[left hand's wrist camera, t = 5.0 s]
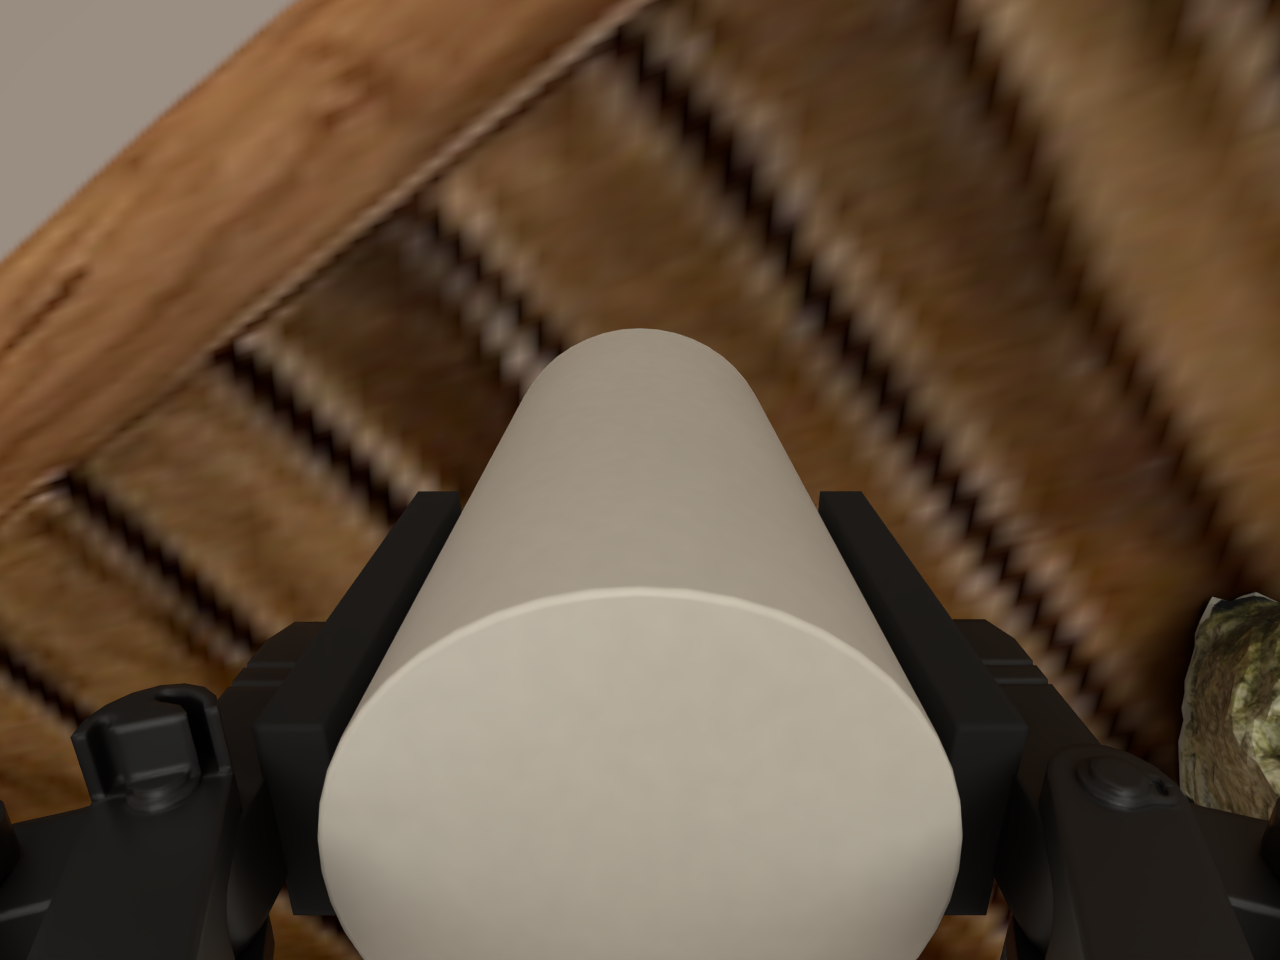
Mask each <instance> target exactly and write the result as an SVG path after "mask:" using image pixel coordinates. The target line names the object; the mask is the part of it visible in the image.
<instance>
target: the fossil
mask: <svg viewBox="0 0 1280 960" xmlns="http://www.w3.org/2000/svg"><path fill="white" fill-rule="evenodd" d="M1184 682H1185V694H1184V698H1183V703H1182V714H1183V719H1184V721H1183V725H1182V729H1181V733H1180V737H1179V741H1178V747H1179V774H1180V789H1181V791H1182V792H1183V794H1184V795H1185V797H1186V798H1187V799H1188V801H1189V802H1190V803H1193V804H1197V805H1200V806H1204V807H1209V808H1213V809H1218V810H1222V811H1227V812H1231V813H1236V814H1240V815H1245V816H1249V817H1254V818H1258V819H1263V820H1267V821H1269V819H1270V817H1271V814H1272V811H1273V809H1274V806H1275V804H1276V801H1277V799H1278V798H1279V797H1280V602H1277V601H1274V600H1272V599H1270V598H1268V597H1266V596H1263V595H1261V594H1259V593H1257V592H1255V593H1251V594H1248V595H1244V596H1241V597H1239V598H1237V599H1235V600H1233V601H1226V600H1223V599H1219V598H1215V597H1212V598H1211V600H1210V602H1209V604H1208V606H1207V608H1206V610H1205V612H1204V614H1203V616H1202V618H1201V620H1200V622H1199V625H1198V627H1197V630H1196V632H1195V647H1194V651H1193V655H1192V658H1191V662H1190V665H1189V669H1188V672H1187V675H1186V678H1185V681H1184Z"/></svg>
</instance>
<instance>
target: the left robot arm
mask: <svg viewBox="0 0 1280 960" xmlns="http://www.w3.org/2000/svg"><path fill="white" fill-rule="evenodd" d="M818 513H819V515H820V517H821V519H822V521H823V522H824V524H825V526H826V528H827V530H828V532H829V534H830V535H831V537H832V539H833V541H834V543H835V545H836V547H837V548H838V550H839V552H840V554H841V556H842V558H843V560H844V561H845V563H846V565H847V567H848V569H849V571H850V573H851V575H852V576H853V578H854V580H855V582H856V584H857V586H858V588H859V589H860V591H861V593H862V595H863V597H864V599H865V601H866V602H867V604H868V606H869V608H870V610H871V612H872V614H873V616H874V617H875V619H876V621H877V623H878V625H879V627H880V629H881V630H882V632H883V634H884V636H885V638H886V640H887V642H888V643H889V645H890V647H891V649H892V651H893V653H894V655H895V656H896V658H897V660H898V662H899V664H900V666H901V668H902V670H903V671H904V673H905V675H906V677H907V679H908V681H909V683H910V684H911V686H912V688H913V690H914V692H915V694H916V696H917V697H918V699H919V701H920V703H921V705H922V707H923V709H924V710H925V712H926V714H927V716H928V718H929V720H930V722H931V724H932V725H933V727H934V729H935V731H936V733H937V735H938V737H939V739H940V741H941V744H942V746H943V748H944V750H945V753H946V755H947V757H948V759H949V762H950V764H951V766H952V769H953V773H954V777H955V781H956V785H957V789H958V793H959V797H960V803H961V818H962V846H961V855H960V864H959V871H958V875H957V878H956V882H955V885H954V889H953V892H952V896H951V899H950V902H949V904H948V906H947V908H946V911H945V913H944V915H986V913H987V909H988V904H989V900H990V895H991V891H992V886H993V882H994V878H995V879H996V881H997V883H998V885H999V887H1000V889H1001V891H1002V893H1003V895H1004V897H1005V899H1006V901H1007V903H1008V905H1009V907H1010V909H1011V911H1012V913H1011V917H1010V921H1009V926H1008V930H1007V934H1006V938H1005V942H1004V946H1003V950H1002V955H1001V959H1000V960H1280V797H1279V798H1278V799H1277V801H1276V804H1275V806H1274V809H1273V811H1272V814H1271V817H1270V819H1269V821H1267V820H1263V819H1258V818H1254V817H1249V816H1245V815H1240V814H1236V813H1231V812H1227V811H1222V810H1218V809H1213V808H1209V807H1204V806H1200V805H1197V804H1193V803H1190V802H1189V801H1188V799H1187V798H1186V797H1185V795H1184V794H1183V792H1182V791H1181V789H1180V788H1179V786H1178V785H1177V784H1176V782H1174V781H1173V780H1172V779H1171V778H1169V777H1168V776H1167V775H1166V774H1164V773H1163V772H1162V771H1161V770H1159V769H1158V768H1157V767H1156V766H1154V765H1152V764H1150V763H1148V762H1146V761H1144V760H1142V759H1140V758H1139V757H1137V756H1135V755H1133V754H1131V753H1128V752H1125V751H1121V750H1118V749H1115V748H1112V747H1108V746H1105V745H1101V744H1100V743H1099V742H1098V740H1097V739H1096V738H1095V737H1094V735H1093V734H1092V733H1091V732H1090V731H1089V729H1088V728H1087V727H1086V726H1085V724H1084V723H1083V722H1082V721H1081V720H1080V718H1079V717H1078V716H1077V715H1076V713H1075V712H1074V711H1073V710H1072V708H1071V707H1070V706H1069V705H1068V704H1067V702H1066V701H1065V700H1064V699H1063V697H1062V696H1061V695H1060V694H1059V693H1058V691H1057V690H1056V689H1055V688H1054V686H1053V685H1052V684H1048V679H1047V678H1046V677H1045V675H1044V674H1043V673H1042V672H1041V671H1040V669H1039V668H1038V667H1037V666H1036V665H1033V661H1032V660H1031V658H1030V657H1029V656H1028V655H1027V653H1026V652H1025V651H1024V650H1023V649H1022V647H1021V646H1020V645H1019V644H1018V642H1017V641H1016V640H1015V639H1014V638H1013V637H1011V636H1010V635H1008V634H1007V633H1005V632H1003V631H1002V630H1000V629H999V628H997V627H996V626H994V625H993V624H991V623H990V622H988V621H987V620H985V619H951V617H950V616H949V614H948V613H947V612H946V610H945V609H944V607H943V606H942V605H941V603H940V602H939V600H938V599H937V597H936V596H935V595H934V593H933V592H932V590H931V589H930V588H929V586H928V585H927V583H926V582H925V581H924V579H923V578H922V576H921V575H920V574H919V572H918V571H917V569H916V568H915V567H914V565H913V564H912V562H911V561H910V560H909V558H908V557H907V555H906V554H905V552H904V551H903V550H902V548H901V547H900V545H899V544H898V543H897V541H896V540H895V538H894V537H893V536H892V534H891V533H890V531H889V530H888V529H887V527H886V526H885V524H884V523H883V522H882V520H881V519H880V517H879V516H878V514H877V513H876V512H875V510H874V509H873V507H872V506H871V505H870V503H869V502H868V500H867V499H866V498H865V496H864V495H863V493H862V492H861V491H820V499H819V510H818ZM460 515H461V504H460V493H459V491H438V492H418V493H417V494H416V495H415V497H414V498H413V500H412V501H411V503H410V504H409V505H408V507H407V508H406V510H405V511H404V512H403V514H402V515H401V517H400V518H399V519H398V521H397V522H396V524H395V525H394V526H393V528H392V529H391V531H390V532H389V533H388V535H387V536H386V538H385V539H384V540H383V542H382V543H381V545H380V546H379V548H378V549H377V550H376V552H375V553H374V555H373V556H372V557H371V559H370V560H369V562H368V563H367V564H366V566H365V567H364V569H363V570H362V571H361V573H360V574H359V576H358V577H357V578H356V580H355V581H354V583H353V584H352V586H351V587H350V588H349V590H348V591H347V593H346V594H345V595H344V597H343V598H342V600H341V601H340V602H339V604H338V605H337V607H336V608H335V609H334V611H333V612H332V614H331V615H330V616H329V618H328V619H327V621H326V622H294V623H292V624H291V625H289V626H288V627H286V628H285V629H283V630H282V631H280V632H279V633H277V634H276V635H274V636H273V637H271V638H270V639H268V640H267V641H265V642H264V644H263V645H262V646H261V647H260V649H259V650H258V651H257V652H256V654H255V655H254V656H253V657H252V658H251V660H250V661H249V662H248V663H247V668H243V670H242V671H241V672H240V673H239V674H238V676H237V677H236V678H235V679H234V681H233V682H232V687H228V688H227V689H226V690H225V692H224V693H223V694H222V695H221V697H220V698H219V699H218V700H217V698H216V695H214V694H213V693H212V692H210V691H209V690H208V689H206V688H205V687H202V686H196V685H191V684H185V683H184V684H172V685H160V686H156V687H152V688H149V689H145V690H141V691H138V692H134V693H131V694H129V695H127V696H125V697H122V698H120V699H118V700H116V701H114V702H111V703H109V704H107V705H105V706H104V707H102V708H101V709H100V710H98V711H97V712H95V713H94V714H92V715H91V716H90V717H88V718H87V719H85V720H84V721H83V722H82V724H81V725H80V726H79V727H78V728H77V730H76V731H75V732H74V733H73V735H72V736H71V740H72V743H73V746H74V749H75V752H76V755H77V758H78V761H79V764H80V767H81V770H82V773H83V776H84V779H85V782H86V785H87V788H88V791H89V794H90V797H91V800H92V803H91V805H90V806H88V807H84V808H81V809H77V810H73V811H68V812H64V813H59V814H55V815H50V816H46V817H41V818H37V819H32V820H28V821H23V822H19V823H14V824H11V821H10V818H9V816H8V813H7V811H6V808H5V806H4V803H3V802H2V801H1V800H0V960H273V955H274V945H275V943H274V937H273V931H272V926H271V921H270V917H269V912H270V910H271V908H272V906H273V904H274V902H275V900H276V898H277V896H278V894H279V892H280V890H281V888H282V886H283V884H284V882H285V880H286V884H287V889H288V893H289V898H290V902H291V906H292V911H293V915H336V913H335V910H334V908H333V906H332V904H331V902H330V899H329V895H328V892H327V888H326V885H325V882H324V878H323V875H322V871H321V863H320V854H319V846H318V820H319V802H320V798H321V794H322V790H323V786H324V781H325V777H326V773H327V769H328V767H329V764H330V762H331V760H332V758H333V755H334V753H335V751H336V748H337V746H338V744H339V741H340V739H341V737H342V735H343V733H344V731H345V729H346V727H347V726H348V724H349V722H350V720H351V718H352V716H353V714H354V713H355V711H356V709H357V707H358V705H359V703H360V701H361V699H362V698H363V696H364V694H365V692H366V690H367V688H368V686H369V685H370V683H371V681H372V679H373V677H374V675H375V673H376V672H377V670H378V668H379V666H380V664H381V662H382V660H383V658H384V657H385V655H386V653H387V651H388V649H389V647H390V645H391V644H392V642H393V640H394V638H395V636H396V634H397V632H398V631H399V629H400V627H401V625H402V623H403V621H404V619H405V618H406V616H407V614H408V612H409V610H410V608H411V606H412V604H413V603H414V601H415V599H416V597H417V595H418V593H419V591H420V590H421V588H422V586H423V584H424V582H425V580H426V578H427V577H428V575H429V573H430V571H431V569H432V567H433V565H434V563H435V562H436V560H437V558H438V556H439V554H440V552H441V550H442V549H443V547H444V545H445V543H446V541H447V539H448V537H449V536H450V534H451V532H452V530H453V528H454V526H455V524H456V522H457V521H458V519H459V517H460Z"/></svg>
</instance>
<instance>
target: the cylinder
mask: <svg viewBox="0 0 1280 960" xmlns="http://www.w3.org/2000/svg"><path fill="white" fill-rule="evenodd" d="M318 846H319V854H320V863H321V871H322V875H323V878H324V882H325V885H326V888H327V892H328V895H329V899H330V902H331V904H332V906H333V908H334V910H335V913H336V915H337V917H338V919H339V921H340V923H341V925H342V927H343V929H344V931H345V933H346V934H347V936H348V937H349V939H350V940H351V942H352V943H353V945H354V946H355V948H356V949H357V951H358V952H359V954H360V955H361V957H362V958H363V959H364V960H916V959H917V958H918V957H919V955H920V954H921V952H922V951H923V949H924V948H925V946H926V945H927V943H928V942H929V940H930V939H931V937H932V936H933V934H934V933H935V931H936V930H937V928H938V926H939V923H940V921H941V919H942V917H943V915H944V913H945V911H946V908H947V906H948V904H949V902H950V899H951V896H952V892H953V889H954V885H955V882H956V878H957V875H958V871H959V864H960V855H961V846H962V818H961V803H960V797H959V793H958V789H957V785H956V781H955V777H954V773H953V769H952V766H951V764H950V762H949V759H948V757H947V755H946V753H945V750H944V748H943V746H942V744H941V741H940V739H939V737H938V735H937V733H936V731H935V729H934V727H933V725H932V724H931V722H930V720H929V718H928V716H927V714H926V712H925V710H924V709H923V707H922V705H921V703H920V701H919V699H918V697H917V696H916V694H915V692H914V690H913V688H912V686H911V684H910V683H909V681H908V679H907V677H906V675H905V673H904V671H903V670H902V668H901V666H900V664H899V662H898V660H897V658H896V656H895V655H894V653H893V651H892V649H891V647H890V645H889V643H888V642H887V640H886V638H885V636H884V634H883V632H882V630H881V629H880V627H879V625H878V623H877V621H876V619H875V617H874V616H873V614H872V612H871V610H870V608H869V606H868V604H867V602H866V601H865V599H864V597H863V595H862V593H861V591H860V589H859V588H858V586H857V584H856V582H855V580H854V578H853V576H852V575H851V573H850V571H849V569H848V567H847V565H846V563H845V561H844V560H843V558H842V556H841V554H840V552H839V550H838V548H837V547H836V545H835V543H834V541H833V539H832V537H831V535H830V534H829V532H828V530H827V528H826V526H825V524H824V522H823V521H822V519H821V517H820V515H819V513H818V511H817V509H816V507H815V506H814V504H813V502H812V500H811V498H810V496H809V494H808V493H807V491H806V489H805V487H804V485H803V483H802V481H801V480H800V478H799V476H798V474H797V472H796V470H795V468H794V467H793V465H792V463H791V461H790V459H789V457H788V455H787V453H786V452H785V450H784V448H783V446H782V444H781V442H780V440H779V439H778V437H777V435H776V433H775V431H774V429H773V427H772V426H771V424H770V422H769V420H768V418H767V416H766V414H765V413H764V411H763V409H762V407H761V405H760V403H759V401H758V399H757V398H756V396H755V394H754V392H753V391H752V389H751V388H750V386H749V385H748V383H747V381H746V380H745V379H744V378H743V377H742V375H741V374H740V373H739V372H738V371H737V369H736V368H735V367H734V366H733V365H731V364H730V363H729V362H728V361H727V360H726V359H725V358H724V357H722V356H721V355H720V354H718V353H717V352H715V351H714V350H712V349H711V348H709V347H708V346H706V345H704V344H702V343H700V342H698V341H696V340H694V339H691V338H688V337H685V336H682V335H679V334H677V333H673V332H667V331H662V330H657V329H641V328H638V329H624V330H618V331H613V332H608V333H603V334H600V335H598V336H595V337H592V338H589V339H586V340H584V341H582V342H580V343H578V344H576V345H574V346H572V347H571V348H569V349H568V350H566V351H565V352H563V353H562V354H561V355H559V356H558V357H556V358H555V359H554V360H553V361H552V362H551V363H550V364H549V365H548V366H546V367H545V368H544V369H543V371H542V372H541V373H540V374H539V375H538V377H537V378H536V379H535V380H534V381H533V383H532V385H531V386H530V388H529V389H528V391H527V393H526V394H525V396H524V398H523V399H522V401H521V403H520V405H519V407H518V409H517V411H516V413H515V414H514V416H513V418H512V420H511V422H510V424H509V426H508V427H507V429H506V431H505V433H504V435H503V437H502V439H501V440H500V442H499V444H498V446H497V448H496V450H495V452H494V454H493V455H492V457H491V459H490V461H489V463H488V465H487V467H486V468H485V470H484V472H483V474H482V476H481V478H480V480H479V481H478V483H477V485H476V487H475V489H474V491H473V493H472V495H471V496H470V498H469V500H468V502H467V504H466V506H465V508H464V509H463V511H462V513H461V515H460V517H459V519H458V521H457V522H456V524H455V526H454V528H453V530H452V532H451V534H450V536H449V537H448V539H447V541H446V543H445V545H444V547H443V549H442V550H441V552H440V554H439V556H438V558H437V560H436V562H435V563H434V565H433V567H432V569H431V571H430V573H429V575H428V577H427V578H426V580H425V582H424V584H423V586H422V588H421V590H420V591H419V593H418V595H417V597H416V599H415V601H414V603H413V604H412V606H411V608H410V610H409V612H408V614H407V616H406V618H405V619H404V621H403V623H402V625H401V627H400V629H399V631H398V632H397V634H396V636H395V638H394V640H393V642H392V644H391V645H390V647H389V649H388V651H387V653H386V655H385V657H384V658H383V660H382V662H381V664H380V666H379V668H378V670H377V672H376V673H375V675H374V677H373V679H372V681H371V683H370V685H369V686H368V688H367V690H366V692H365V694H364V696H363V698H362V699H361V701H360V703H359V705H358V707H357V709H356V711H355V713H354V714H353V716H352V718H351V720H350V722H349V724H348V726H347V727H346V729H345V731H344V733H343V735H342V737H341V739H340V741H339V744H338V746H337V748H336V751H335V753H334V755H333V758H332V760H331V762H330V764H329V767H328V769H327V773H326V777H325V781H324V786H323V790H322V794H321V798H320V802H319V820H318Z"/></svg>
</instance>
